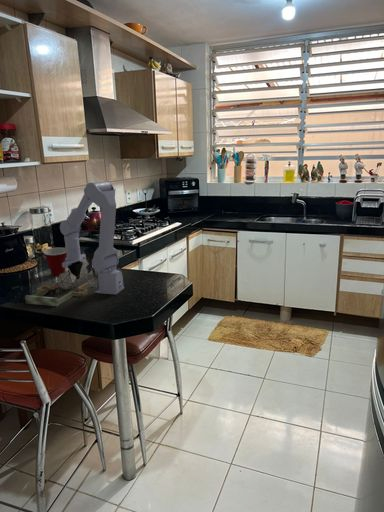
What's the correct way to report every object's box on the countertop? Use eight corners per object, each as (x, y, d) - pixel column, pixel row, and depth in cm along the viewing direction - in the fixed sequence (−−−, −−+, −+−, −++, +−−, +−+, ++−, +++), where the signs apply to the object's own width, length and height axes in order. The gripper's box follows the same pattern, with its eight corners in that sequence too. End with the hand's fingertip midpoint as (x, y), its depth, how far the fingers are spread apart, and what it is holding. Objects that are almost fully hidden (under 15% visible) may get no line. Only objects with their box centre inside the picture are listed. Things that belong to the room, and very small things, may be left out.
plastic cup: (51, 279, 171) (48, 254, 168) (43, 274, 179) (39, 250, 176) (74, 274, 178) (71, 249, 175) (65, 269, 186) (61, 246, 183)
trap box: (97, 286, 159) (96, 280, 159) (66, 307, 139) (65, 299, 138) (53, 283, 166) (52, 277, 165) (17, 302, 146) (16, 295, 145)
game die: (69, 295, 161) (73, 273, 164) (79, 293, 155) (83, 270, 159) (49, 290, 155) (54, 268, 159) (59, 287, 149) (64, 264, 153)
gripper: (74, 244, 168) (78, 273, 171) (54, 252, 154) (58, 283, 158) (88, 244, 166) (91, 274, 169) (68, 253, 152) (72, 284, 156)
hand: (76, 278), depth 163 cm, fingers closed
